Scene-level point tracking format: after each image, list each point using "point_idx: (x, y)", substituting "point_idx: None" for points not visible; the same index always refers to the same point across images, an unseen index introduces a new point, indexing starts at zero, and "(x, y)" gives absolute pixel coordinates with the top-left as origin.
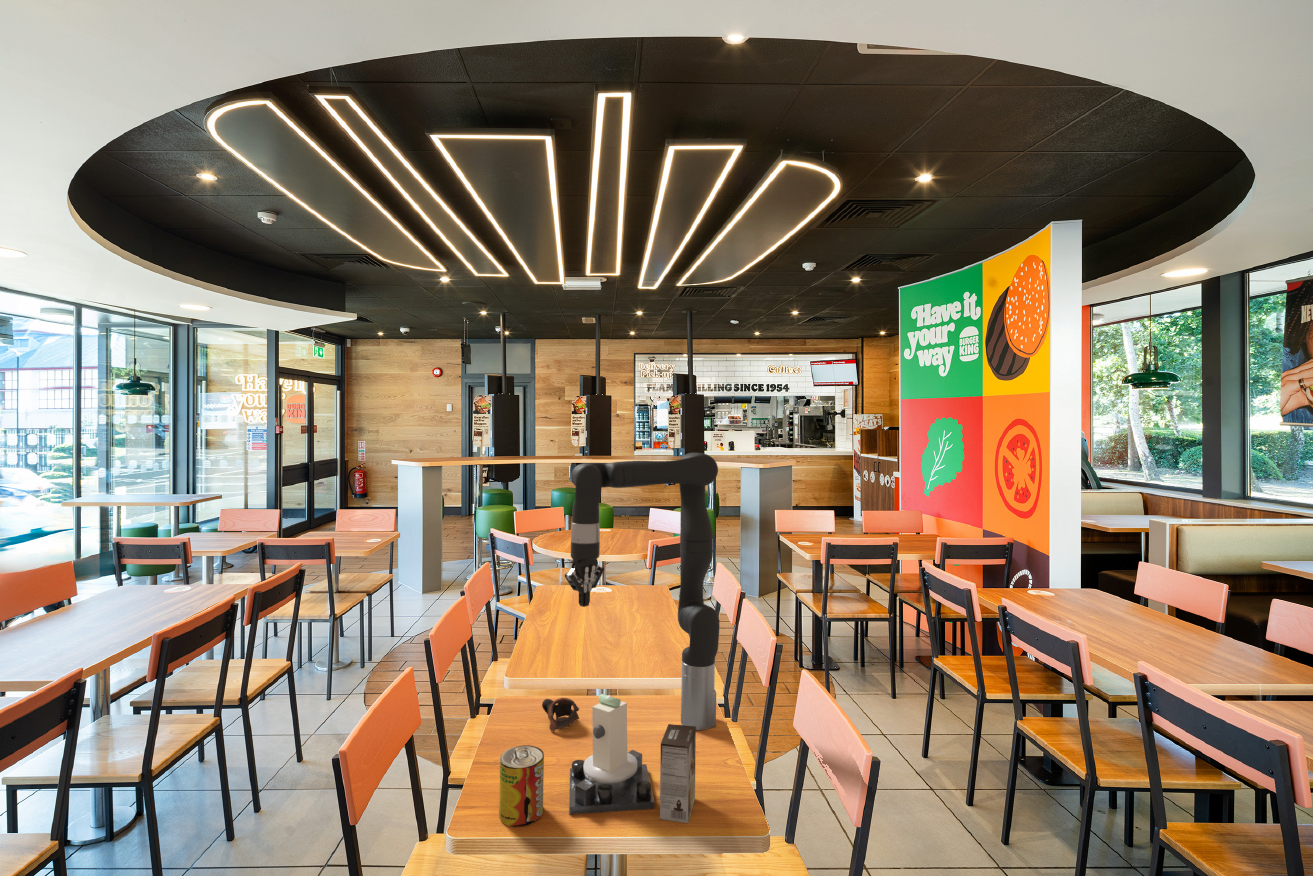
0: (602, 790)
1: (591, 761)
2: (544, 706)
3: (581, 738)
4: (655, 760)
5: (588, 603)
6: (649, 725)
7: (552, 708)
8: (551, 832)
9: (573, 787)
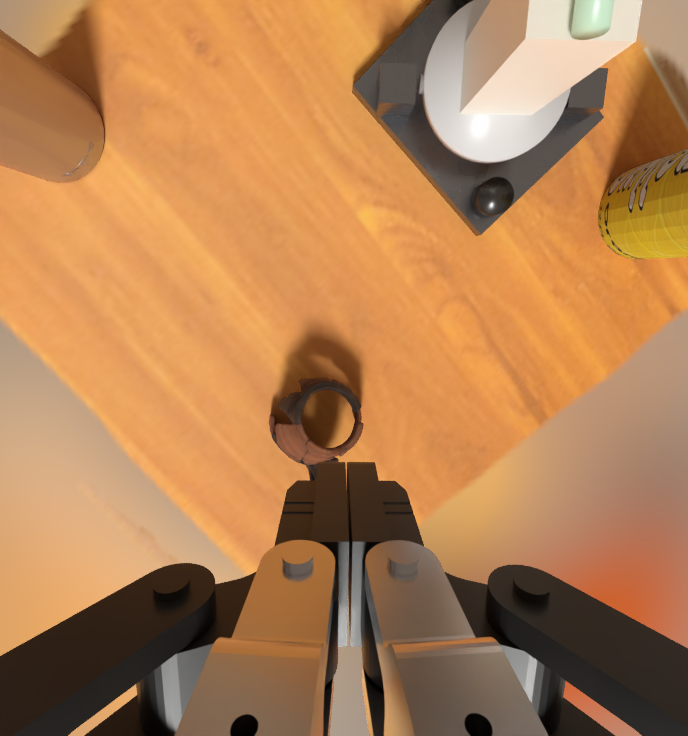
0: None
1: (516, 135)
2: None
3: (334, 333)
4: (298, 104)
5: (328, 467)
6: (165, 237)
7: (345, 442)
8: (660, 108)
9: (538, 167)
